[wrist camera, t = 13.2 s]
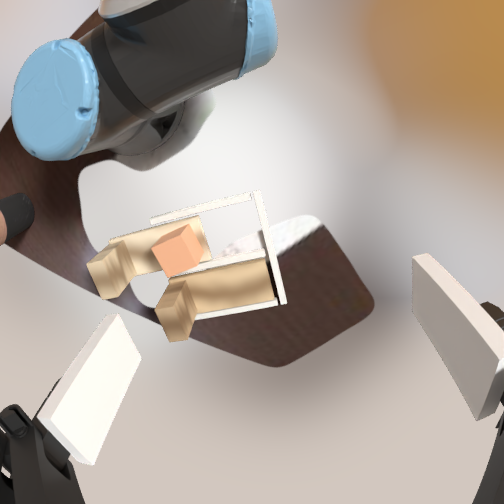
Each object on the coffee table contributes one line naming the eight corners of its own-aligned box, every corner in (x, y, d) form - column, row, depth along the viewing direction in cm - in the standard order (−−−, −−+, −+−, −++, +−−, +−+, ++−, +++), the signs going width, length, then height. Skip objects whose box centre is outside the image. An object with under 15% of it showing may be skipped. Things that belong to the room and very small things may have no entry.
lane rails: (151, 217, 48) (149, 219, 47) (259, 189, 46) (259, 190, 45) (188, 317, 55) (187, 321, 54) (286, 300, 53) (286, 303, 52)
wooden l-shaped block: (170, 277, 52) (153, 306, 43) (264, 257, 50) (263, 286, 41) (184, 312, 54) (170, 344, 46) (274, 295, 52) (275, 328, 44)
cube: (161, 236, 48) (150, 248, 43) (189, 223, 47) (180, 234, 42) (176, 263, 49) (167, 277, 45) (204, 252, 48) (197, 265, 44)
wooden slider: (111, 238, 50) (84, 261, 41) (198, 214, 47) (183, 235, 39) (126, 275, 52) (103, 302, 44) (211, 256, 50) (200, 284, 41)
